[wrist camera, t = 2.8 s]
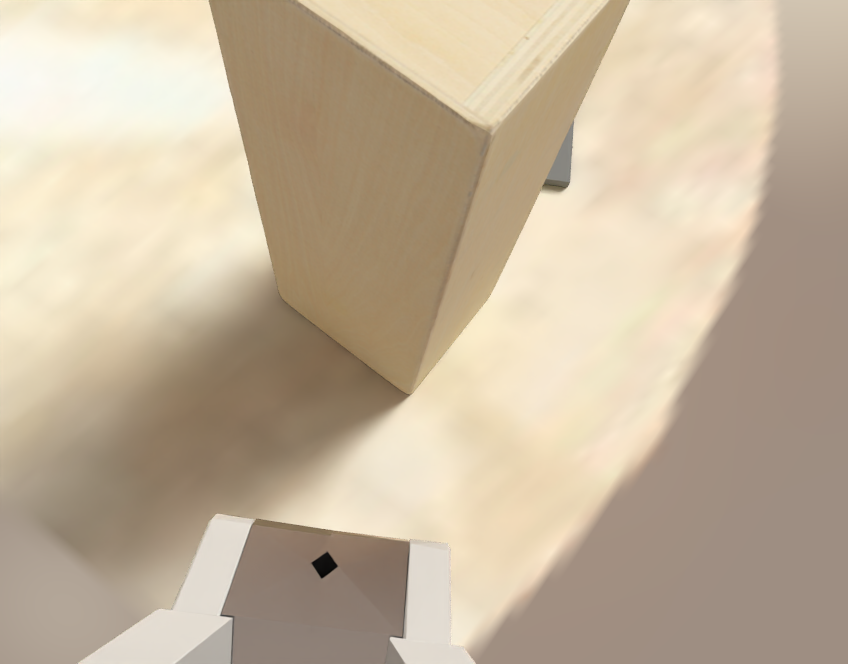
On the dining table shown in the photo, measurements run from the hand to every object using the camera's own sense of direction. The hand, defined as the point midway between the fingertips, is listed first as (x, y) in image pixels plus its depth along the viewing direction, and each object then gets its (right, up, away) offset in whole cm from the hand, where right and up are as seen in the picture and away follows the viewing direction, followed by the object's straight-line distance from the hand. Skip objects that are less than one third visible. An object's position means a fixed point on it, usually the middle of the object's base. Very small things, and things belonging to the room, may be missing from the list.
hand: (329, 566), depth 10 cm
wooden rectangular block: (0, +5, +26) cm, 27 cm away
